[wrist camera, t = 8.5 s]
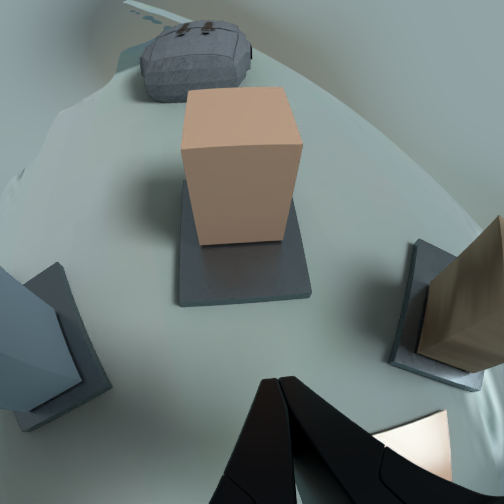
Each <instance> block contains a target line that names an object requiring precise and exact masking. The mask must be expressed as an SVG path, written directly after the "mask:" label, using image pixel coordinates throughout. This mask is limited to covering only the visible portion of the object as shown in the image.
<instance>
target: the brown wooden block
mask: <svg viewBox="0 0 504 504" xmlns="http://www.w3.org/2000/svg"><path fill="white" fill-rule="evenodd" d="M417 353H419V354H422V355H424V356H427V357H430V358H432V359H435V360H438V361H441V362H443V363H446V364H449V365H452V366H454V367H457V368H460V369H463V370H465V371H468V372H471V373H476V372H480V371H482V370H485V369H488V368H491V367H494V366H497V365H499V364H502V363H504V218H503V217H501V216H500V215H499V216H498V217H497V218H496V219H495V220H494V221H493V222H492V223H491V224H490V225H489V226H488V227H487V228H486V229H485V230H484V231H483V232H482V233H481V234H480V235H479V236H478V237H477V238H476V239H475V240H474V241H473V242H472V243H471V244H470V245H469V246H468V247H467V248H466V249H465V250H464V251H463V252H462V253H461V254H460V255H459V256H458V257H457V258H456V259H455V260H454V261H453V262H452V263H451V264H449V265H448V266H447V267H446V268H445V269H444V270H443V271H442V272H441V273H440V274H438V275H437V276H436V277H435V278H434V279H433V280H432V281H430V286H429V293H428V300H427V306H426V312H425V317H424V323H423V328H422V333H421V338H420V342H419V347H418V351H417Z"/></svg>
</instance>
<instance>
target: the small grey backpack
mask: <svg viewBox="0 0 504 504" xmlns="http://www.w3.org/2000/svg"><path fill="white" fill-rule="evenodd" d="M155 39H156V40H155V41H154V42H152V43H151V44H150V45H148V46H147V47H145V49H144V51H143V53H142V54H141V56H140V67H141V75H142V76H144V77H145V87H146V89H147V91H148V93H149V95H150V96H151V97H152V98H153V99H154V100H156V101H161V102H168V103H177V102H187V97H188V91H190V90H201V89H216V88H237V87H238V86H239V84H240V83H241V82H242V81H243V79H244V78H245V77H246V71H248V70H249V69H250V64H251V59H252V47H251V43H250V42H249V41H247V40H246V35H245V34H244V33H243V32H242V31H240V30H239V28H238V26H237V25H235V24H232V23H228V22H224V21H213V20H212V21H211V20H201V21H194V22H188V23H183V24H179V25H177V26H174V27H172V28H169V29H167V30H165V31H163V32H162V33H161V34H160V35H159V36H157V37H156V38H155Z"/></svg>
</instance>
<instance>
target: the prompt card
mask: <svg viewBox="0 0 504 504" xmlns="http://www.w3.org/2000/svg"><path fill="white" fill-rule="evenodd" d="M372 436H373V437H375V438H376V439H378V440H379V441H381V442H382V443H383V444H385V447H386V446H388V447H389V448H391V449H392V450H394V451H395V452H397V453H398V454H400V455H401V456H403V457H404V458H406V459H408V460H409V461H411V462H412V463H414V464H416V465H418V466H419V467H421V468H423V469H425V470H427V471H429V472H431V473H433V474H435V475H437V476H439V477H442V478H444V479H446V480H448V481H451V482H452V471H451V451H450V438H449V428H448V419H447V411H446V410H441V411H439V412H436V413H434V414H431V415H429V416H426V417H424V418H421V419H418V420H416V421H413V422H410V423H407V424H404V425H401V426H398V427H395V428H392V429H389V430H386V431H382V432H379V433H375V434H372Z"/></svg>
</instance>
